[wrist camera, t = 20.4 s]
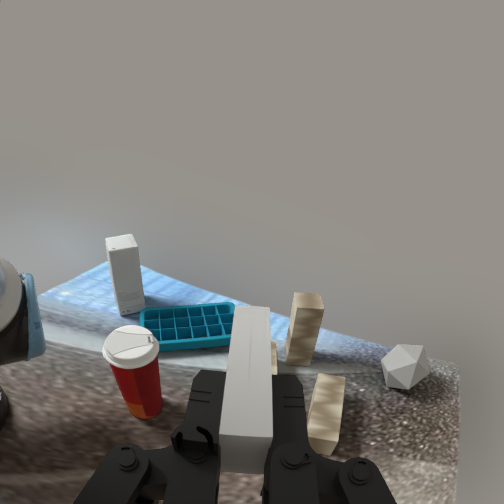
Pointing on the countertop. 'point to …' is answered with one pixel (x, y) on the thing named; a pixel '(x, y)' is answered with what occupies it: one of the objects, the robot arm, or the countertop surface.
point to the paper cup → (136, 368)
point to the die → (405, 366)
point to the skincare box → (125, 274)
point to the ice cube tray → (190, 325)
